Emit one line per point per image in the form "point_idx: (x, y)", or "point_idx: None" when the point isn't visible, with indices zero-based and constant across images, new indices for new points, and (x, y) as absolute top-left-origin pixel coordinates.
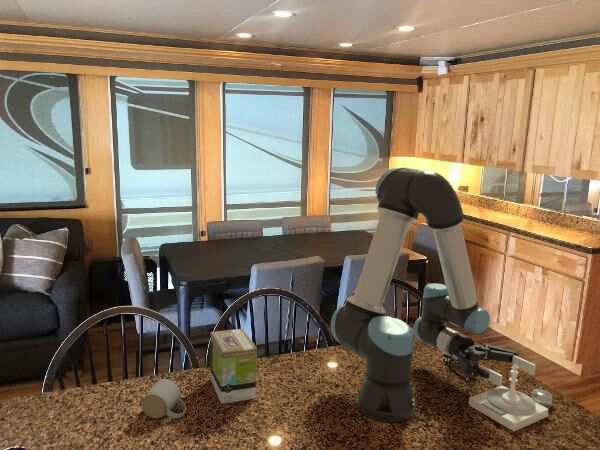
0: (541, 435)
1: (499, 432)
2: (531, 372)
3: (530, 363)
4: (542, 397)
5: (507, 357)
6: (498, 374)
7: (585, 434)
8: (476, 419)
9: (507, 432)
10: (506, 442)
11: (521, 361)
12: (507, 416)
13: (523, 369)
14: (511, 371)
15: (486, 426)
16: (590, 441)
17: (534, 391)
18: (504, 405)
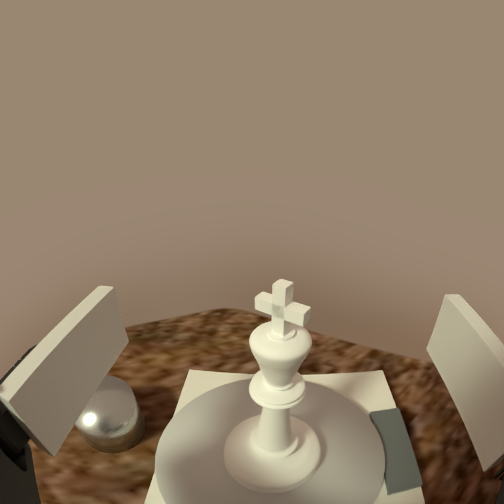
0: (311, 357)
1: (419, 397)
2: (122, 338)
3: (93, 302)
4: (131, 393)
5: (9, 467)
6: (463, 304)
7: (205, 321)
8: (449, 462)
9: (396, 392)
10: (425, 366)
11: (64, 355)
12: (378, 400)
13: (97, 381)
14: (306, 342)
15: (439, 426)
16: (226, 310)
17: (100, 424)
18: (350, 434)
